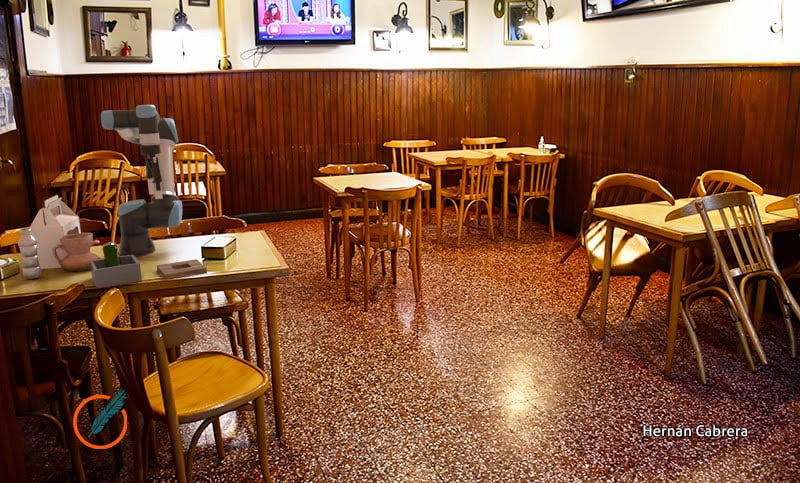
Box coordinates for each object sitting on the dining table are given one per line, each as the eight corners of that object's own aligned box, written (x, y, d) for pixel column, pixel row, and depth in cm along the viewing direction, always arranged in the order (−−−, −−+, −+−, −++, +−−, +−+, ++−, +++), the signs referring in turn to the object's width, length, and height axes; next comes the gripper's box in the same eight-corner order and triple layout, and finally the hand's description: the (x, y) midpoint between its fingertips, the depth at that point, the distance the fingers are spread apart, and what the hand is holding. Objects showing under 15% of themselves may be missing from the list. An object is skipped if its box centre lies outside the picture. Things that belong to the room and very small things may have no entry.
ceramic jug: (105, 262, 282) (100, 229, 279) (101, 270, 269) (95, 236, 265) (59, 267, 278) (54, 234, 274) (52, 276, 264) (46, 241, 261)
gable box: (68, 267, 276) (58, 201, 269) (34, 269, 274) (24, 203, 267) (84, 254, 297) (75, 192, 291) (52, 256, 295) (43, 194, 288)
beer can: (109, 271, 253) (102, 243, 256) (107, 276, 257) (101, 248, 260) (123, 268, 256) (117, 241, 259) (122, 274, 260) (115, 246, 263)
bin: (92, 277, 259) (89, 260, 258) (135, 271, 267) (133, 254, 265) (96, 288, 246) (94, 270, 244) (142, 281, 254) (139, 263, 252)
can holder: (157, 269, 268) (156, 265, 268) (197, 263, 276) (196, 259, 276) (165, 279, 255) (164, 274, 254) (206, 272, 263) (206, 267, 262)
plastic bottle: (28, 276, 264) (20, 227, 259) (45, 275, 264) (38, 226, 259) (20, 281, 257) (12, 231, 253) (38, 280, 258) (30, 230, 253)
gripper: (135, 142, 274) (141, 193, 279) (145, 146, 253) (151, 201, 258) (153, 141, 278) (159, 191, 283) (165, 145, 257) (171, 199, 262)
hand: (155, 196), depth 270 cm, fingers open, 13 cm apart
